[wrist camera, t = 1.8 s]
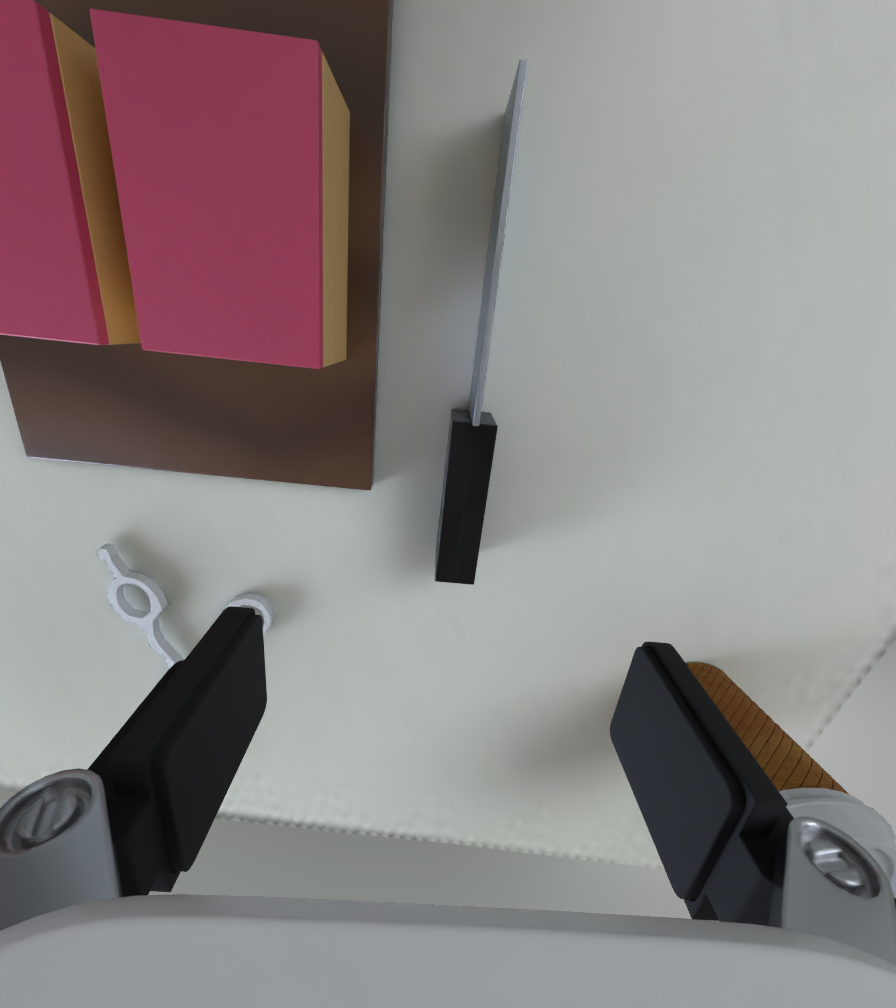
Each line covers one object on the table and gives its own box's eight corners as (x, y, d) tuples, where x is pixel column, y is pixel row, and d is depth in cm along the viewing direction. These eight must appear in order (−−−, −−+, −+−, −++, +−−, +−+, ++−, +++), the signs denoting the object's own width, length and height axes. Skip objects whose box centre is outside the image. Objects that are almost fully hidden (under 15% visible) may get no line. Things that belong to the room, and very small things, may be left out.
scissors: (274, 584, 27) (247, 794, 34) (279, 578, 28) (251, 784, 35) (96, 547, 26) (107, 771, 33) (106, 541, 27) (114, 762, 34)
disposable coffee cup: (778, 691, 32) (956, 888, 21) (672, 758, 34) (779, 965, 23) (701, 620, 29) (857, 800, 18) (593, 698, 32) (672, 898, 21)
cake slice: (40, 70, 18) (-104, -21, 13) (140, 84, 18) (33, -2, 13) (91, 332, 21) (-6, 334, 17) (173, 341, 22) (99, 345, 17)
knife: (483, 108, 19) (492, 55, 15) (533, 115, 19) (554, 64, 15) (435, 551, 27) (434, 587, 23) (470, 555, 27) (474, 591, 24)
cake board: (-110, -109, 16) (-136, -130, 16) (394, -34, 17) (392, -50, 16) (38, 453, 25) (26, 457, 24) (373, 486, 25) (370, 491, 25)
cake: (180, 89, 18) (87, 6, 13) (350, 112, 18) (317, 39, 14) (206, 344, 22) (141, 350, 17) (346, 360, 22) (319, 369, 17)
